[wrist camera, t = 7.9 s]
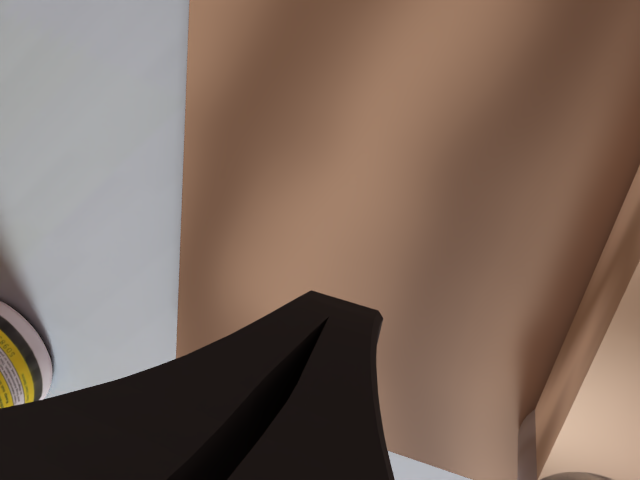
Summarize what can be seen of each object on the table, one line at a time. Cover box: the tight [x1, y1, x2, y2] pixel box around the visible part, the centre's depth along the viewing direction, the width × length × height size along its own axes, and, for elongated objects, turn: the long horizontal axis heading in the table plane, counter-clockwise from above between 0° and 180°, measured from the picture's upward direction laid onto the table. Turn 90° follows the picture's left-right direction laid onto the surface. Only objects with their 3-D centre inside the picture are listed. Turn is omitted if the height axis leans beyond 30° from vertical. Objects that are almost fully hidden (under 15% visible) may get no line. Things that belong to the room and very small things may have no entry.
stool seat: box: [176, 0, 640, 480], centre depth 16 cm, size 19×17×4 cm
